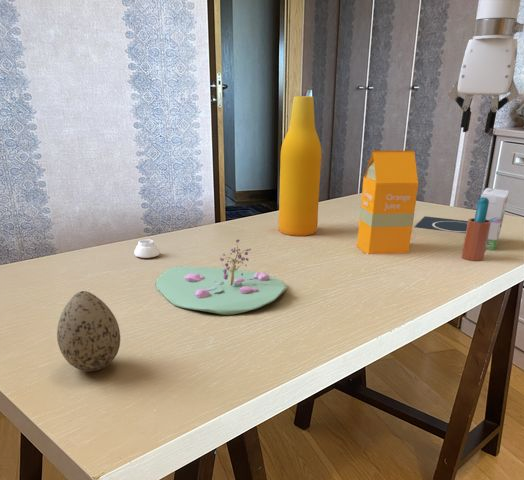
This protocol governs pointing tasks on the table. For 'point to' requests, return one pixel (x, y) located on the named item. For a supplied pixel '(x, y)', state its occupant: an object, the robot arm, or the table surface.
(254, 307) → the plant
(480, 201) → the marker
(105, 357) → the decorative egg
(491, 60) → the robot arm
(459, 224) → the drawing mat
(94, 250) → the table surface
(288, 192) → the beer bottle
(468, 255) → the pen cup
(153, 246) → the white jar
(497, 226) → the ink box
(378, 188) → the orange juice
